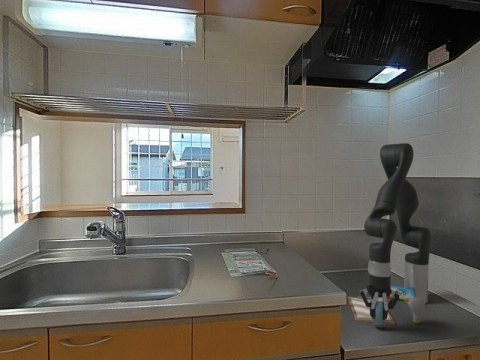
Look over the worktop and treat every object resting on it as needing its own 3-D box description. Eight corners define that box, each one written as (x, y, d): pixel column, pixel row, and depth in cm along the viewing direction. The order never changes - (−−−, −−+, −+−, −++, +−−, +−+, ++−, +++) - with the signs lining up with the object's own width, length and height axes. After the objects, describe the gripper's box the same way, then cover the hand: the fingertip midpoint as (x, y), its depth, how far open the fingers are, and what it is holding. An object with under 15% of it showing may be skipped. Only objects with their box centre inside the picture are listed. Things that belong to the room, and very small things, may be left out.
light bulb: (404, 320, 112) (405, 295, 111) (414, 318, 114) (415, 293, 113) (417, 328, 107) (418, 301, 106) (428, 325, 108) (428, 299, 108)
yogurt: (383, 298, 131) (383, 285, 131) (383, 297, 132) (383, 284, 132) (413, 305, 125) (414, 291, 125) (413, 303, 127) (414, 289, 126)
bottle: (376, 321, 109) (376, 293, 108) (385, 325, 106) (385, 296, 106) (371, 324, 107) (371, 295, 106) (380, 328, 104) (381, 298, 103)
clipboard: (347, 298, 131) (347, 294, 131) (380, 301, 128) (380, 298, 128) (355, 320, 112) (355, 316, 112) (395, 325, 109) (395, 320, 109)
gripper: (361, 274, 103) (360, 321, 104) (403, 277, 100) (402, 326, 101) (357, 267, 111) (356, 311, 111) (396, 270, 108) (395, 315, 108)
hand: (378, 318), depth 106 cm, fingers closed on bottle, 3 cm apart
